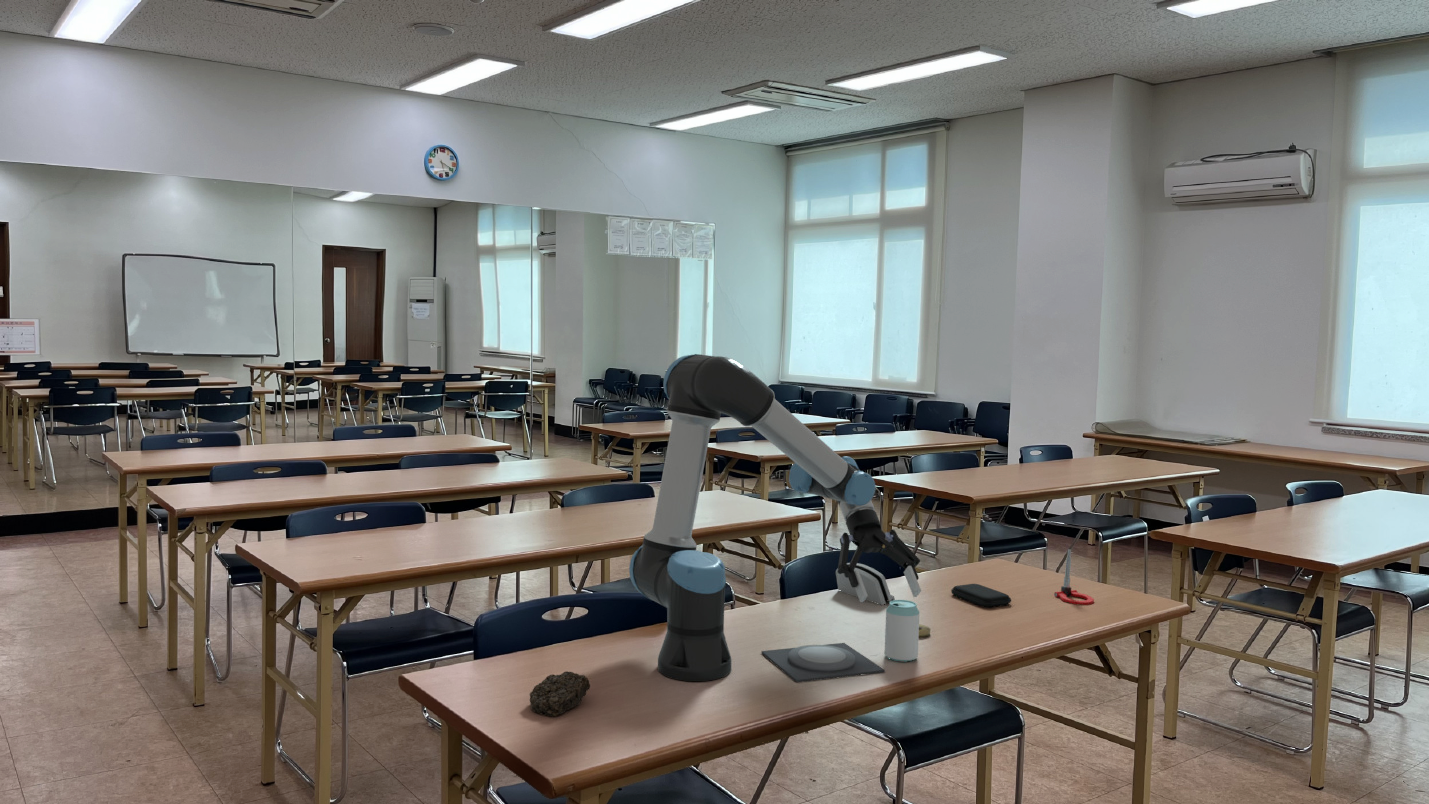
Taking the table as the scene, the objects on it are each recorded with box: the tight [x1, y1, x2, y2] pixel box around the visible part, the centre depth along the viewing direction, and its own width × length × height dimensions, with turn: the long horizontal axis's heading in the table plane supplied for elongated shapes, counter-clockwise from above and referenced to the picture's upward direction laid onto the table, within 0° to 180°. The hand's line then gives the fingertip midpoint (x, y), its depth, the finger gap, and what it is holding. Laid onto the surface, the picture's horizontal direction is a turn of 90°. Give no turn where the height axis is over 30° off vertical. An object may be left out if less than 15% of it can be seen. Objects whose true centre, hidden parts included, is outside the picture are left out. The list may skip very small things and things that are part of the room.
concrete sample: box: [529, 671, 591, 717], centre depth 182 cm, size 12×10×5 cm
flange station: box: [760, 642, 886, 683], centre depth 208 cm, size 20×18×2 cm
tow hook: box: [1053, 549, 1095, 606], centre depth 261 cm, size 8×13×9 cm
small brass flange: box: [918, 623, 931, 639], centre depth 230 cm, size 7×7×1 cm
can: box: [884, 599, 920, 663], centre depth 212 cm, size 7×7×12 cm
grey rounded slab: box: [835, 562, 896, 606], centre depth 259 cm, size 17×5×10 cm, turn 36°
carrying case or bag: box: [950, 583, 1012, 609], centre depth 260 cm, size 11×3×15 cm
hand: (891, 596), depth 219 cm, fingers open, 13 cm apart
